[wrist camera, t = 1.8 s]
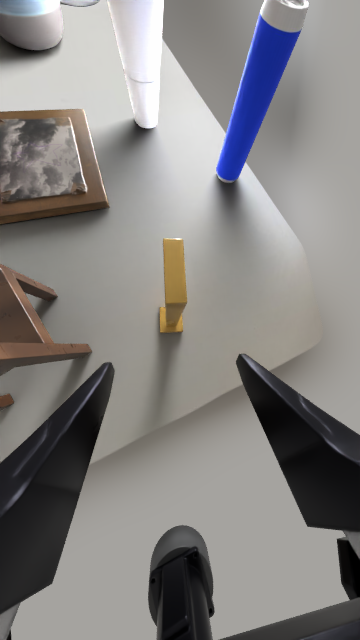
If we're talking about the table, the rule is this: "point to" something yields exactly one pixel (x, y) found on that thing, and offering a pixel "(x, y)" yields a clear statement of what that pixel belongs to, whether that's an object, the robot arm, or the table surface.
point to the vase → (31, 23)
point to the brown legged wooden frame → (27, 328)
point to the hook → (173, 286)
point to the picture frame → (47, 165)
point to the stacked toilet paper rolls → (140, 53)
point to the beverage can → (260, 80)
